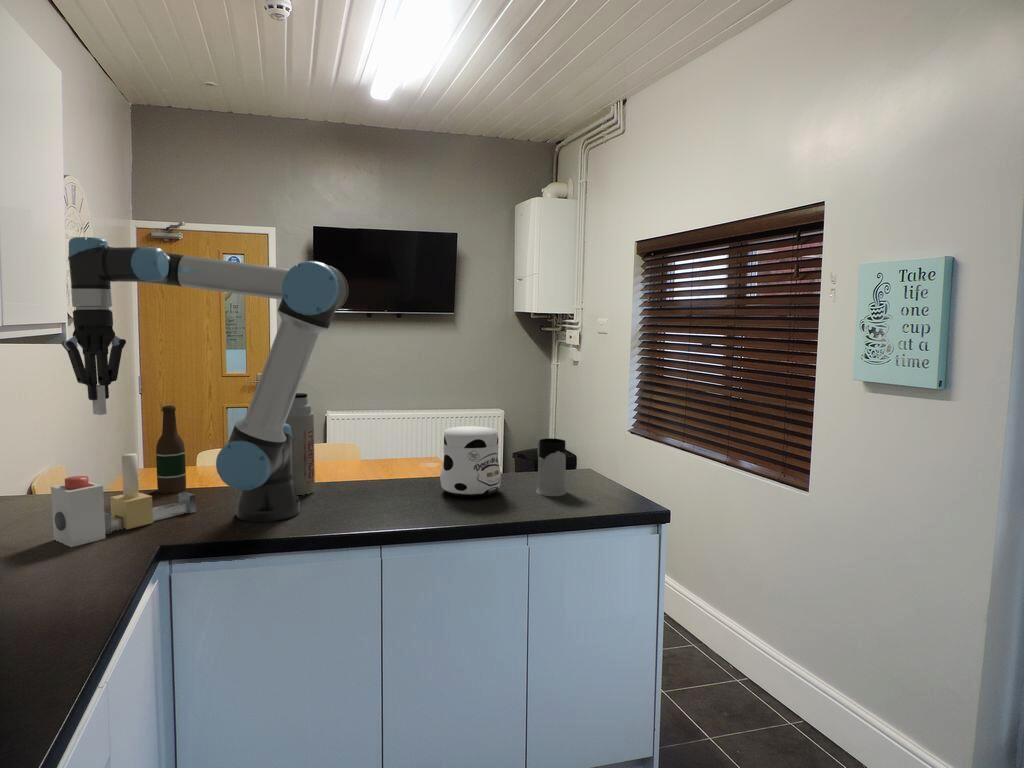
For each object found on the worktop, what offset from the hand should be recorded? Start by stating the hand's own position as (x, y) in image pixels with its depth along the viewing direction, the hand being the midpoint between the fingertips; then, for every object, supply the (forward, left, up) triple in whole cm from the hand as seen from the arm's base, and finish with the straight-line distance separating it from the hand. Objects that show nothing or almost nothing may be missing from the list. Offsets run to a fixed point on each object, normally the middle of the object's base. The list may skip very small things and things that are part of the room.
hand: (99, 413), depth 153 cm
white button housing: (-1, +6, -27) cm, 28 cm away
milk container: (-47, -76, -27) cm, 94 cm away
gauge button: (-1, +6, -18) cm, 19 cm away
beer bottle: (+22, -28, -27) cm, 45 cm away
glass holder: (-63, -92, -27) cm, 115 cm away
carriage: (0, -6, -27) cm, 28 cm away
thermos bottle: (-8, -48, -27) cm, 56 cm away
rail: (0, -9, -27) cm, 29 cm away
